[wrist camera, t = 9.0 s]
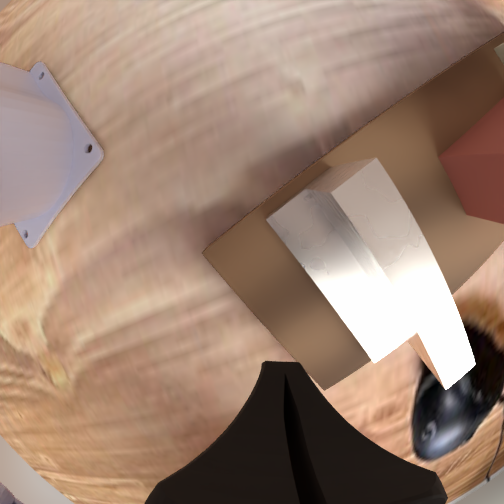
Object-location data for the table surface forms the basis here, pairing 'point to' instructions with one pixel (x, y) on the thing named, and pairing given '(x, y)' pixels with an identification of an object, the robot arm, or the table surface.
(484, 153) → the red block
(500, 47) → the book row
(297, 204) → the bookend
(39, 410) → the table surface
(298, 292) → the shelf board
